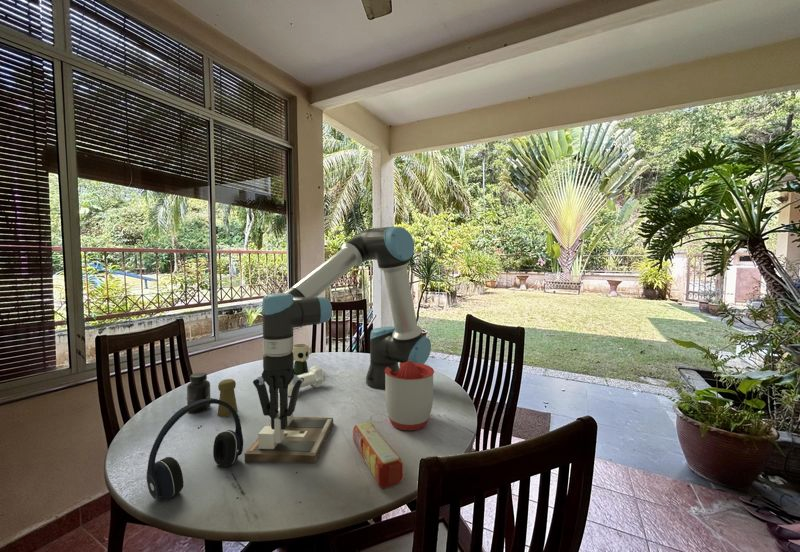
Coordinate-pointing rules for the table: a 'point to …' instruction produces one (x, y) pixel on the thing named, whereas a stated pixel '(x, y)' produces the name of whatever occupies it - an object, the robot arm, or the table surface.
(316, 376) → the bone shaped toy
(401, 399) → the citrus juicer
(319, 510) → the table surface
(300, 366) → the character mug
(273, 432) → the cream cube
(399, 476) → the snack package
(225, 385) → the cork
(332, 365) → the table surface
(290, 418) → the tab far
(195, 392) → the supplement bottle
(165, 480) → the headphones
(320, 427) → the brown wooden tray
